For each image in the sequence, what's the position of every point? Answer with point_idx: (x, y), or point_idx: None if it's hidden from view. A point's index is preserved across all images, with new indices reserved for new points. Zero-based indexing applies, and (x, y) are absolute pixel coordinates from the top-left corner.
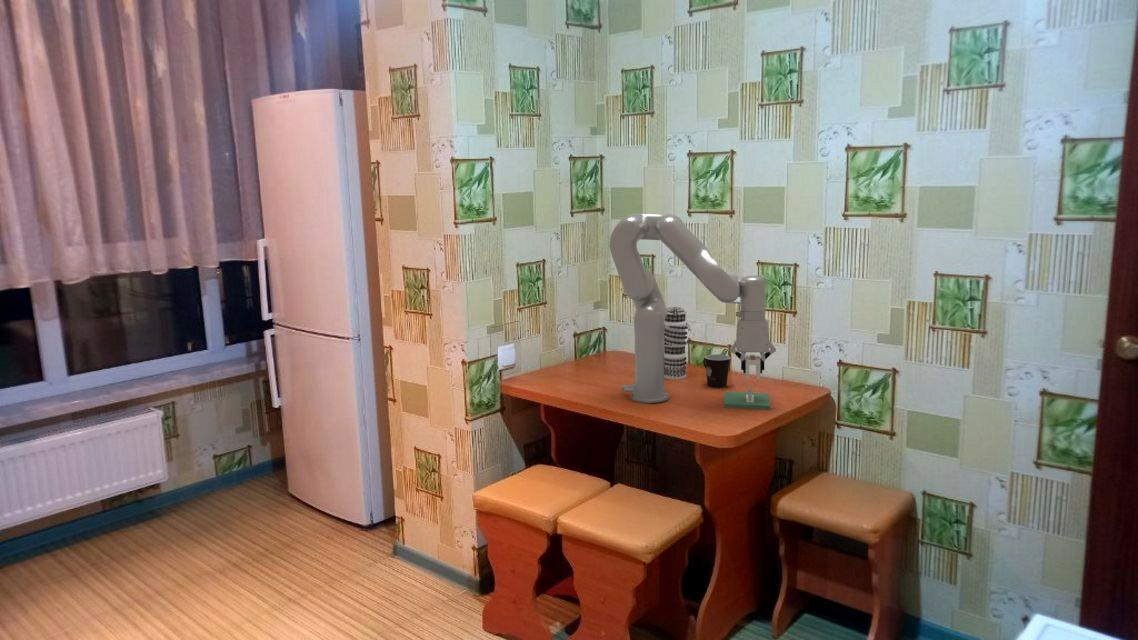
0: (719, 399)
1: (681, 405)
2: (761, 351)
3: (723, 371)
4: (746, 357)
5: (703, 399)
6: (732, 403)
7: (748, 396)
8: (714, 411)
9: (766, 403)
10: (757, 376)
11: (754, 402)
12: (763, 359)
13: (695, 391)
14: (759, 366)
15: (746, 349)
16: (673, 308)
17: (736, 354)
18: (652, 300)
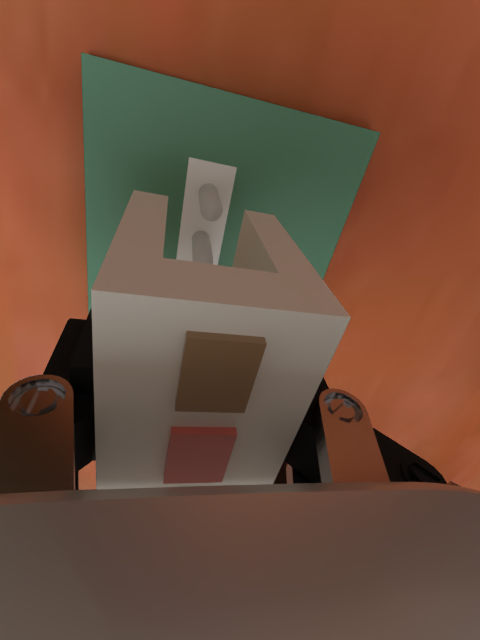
0: (335, 280)
1: None
2: (3, 507)
3: (285, 474)
4: (279, 447)
5: (404, 280)
6: (328, 139)
7: (210, 243)
8: (459, 42)
9: (108, 122)
10: (162, 201)
11: (187, 154)
12: (40, 397)
13: (384, 376)
14: (125, 242)
15: (408, 542)
16: None
17: (434, 468)
18: None
